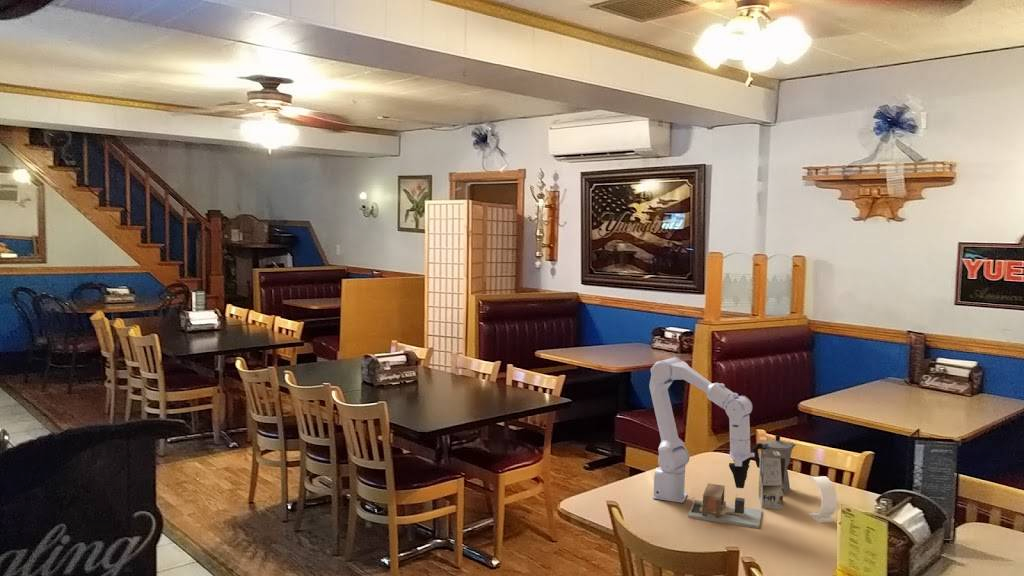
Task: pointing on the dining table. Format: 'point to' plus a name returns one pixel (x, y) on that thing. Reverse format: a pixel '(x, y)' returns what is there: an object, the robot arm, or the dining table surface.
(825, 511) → the headphone stand
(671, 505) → the dining table surface
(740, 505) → the sled
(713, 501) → the block
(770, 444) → the coffeepot
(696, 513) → the track board
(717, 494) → the bridge
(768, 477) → the coffee box
